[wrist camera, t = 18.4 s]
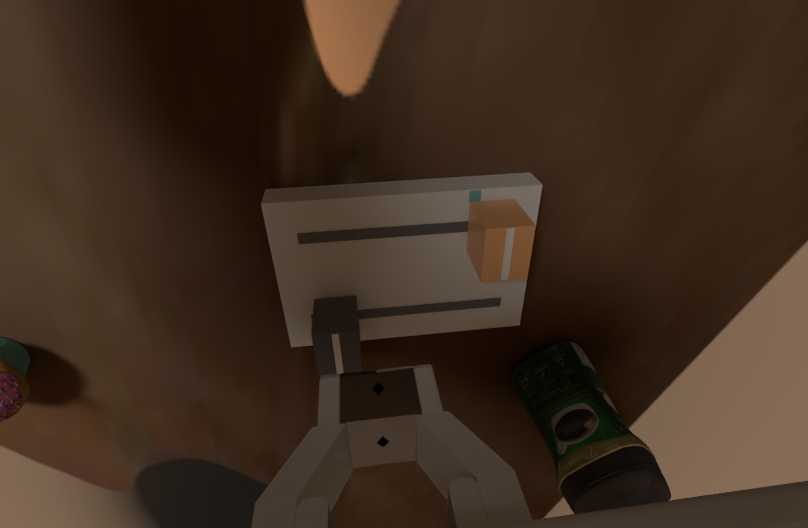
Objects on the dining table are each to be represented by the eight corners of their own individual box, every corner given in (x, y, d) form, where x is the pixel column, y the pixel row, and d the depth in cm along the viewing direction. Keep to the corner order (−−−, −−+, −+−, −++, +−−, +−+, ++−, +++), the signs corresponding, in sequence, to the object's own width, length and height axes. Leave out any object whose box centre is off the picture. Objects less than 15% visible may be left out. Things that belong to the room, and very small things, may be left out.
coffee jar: (528, 399, 59) (596, 549, 43) (499, 368, 55) (562, 521, 39) (594, 362, 56) (690, 508, 41) (568, 328, 52) (664, 474, 37)
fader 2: (466, 251, 41) (481, 283, 37) (469, 201, 38) (486, 229, 34) (508, 248, 41) (527, 279, 37) (514, 198, 38) (536, 226, 34)
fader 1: (320, 339, 44) (318, 377, 40) (314, 299, 42) (311, 335, 37) (360, 335, 45) (362, 372, 40) (356, 295, 42) (358, 331, 38)
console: (293, 327, 47) (291, 348, 45) (265, 189, 39) (260, 204, 36) (510, 307, 50) (520, 326, 47) (530, 172, 41) (543, 185, 38)
